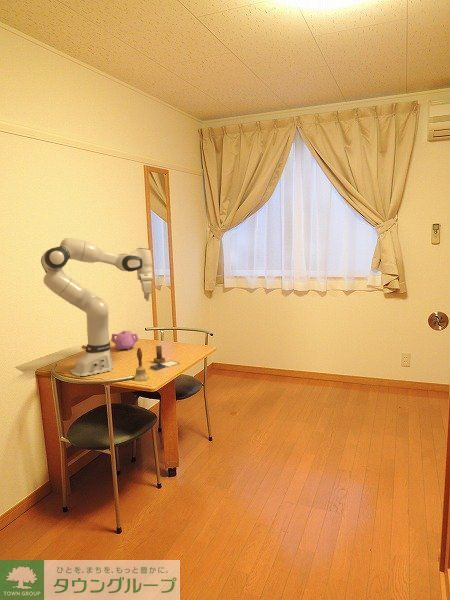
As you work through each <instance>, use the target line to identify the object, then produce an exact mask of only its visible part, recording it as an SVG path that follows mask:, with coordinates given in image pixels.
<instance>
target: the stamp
mask: <svg viewBox="0 0 450 600" xmlns="http://www.w3.org/2000/svg"><path fill="white" fill-rule="evenodd" d="M155 349H156V358H153V363H154V364H161V363H165V362H166V357H163V354H162V351H163V350H162V345H156V347H155Z"/></svg>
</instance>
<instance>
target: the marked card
mask: <svg viewBox="0 0 450 600" xmlns="http://www.w3.org/2000/svg"><path fill="white" fill-rule="evenodd" d="M160 364H162V365H165V366H166V368H171V367H174V366H177V365H180V364H181V363H180V362H178V361H174V360H169V361H165V362H163V363H160Z"/></svg>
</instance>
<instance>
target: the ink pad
mask: <svg viewBox="0 0 450 600" xmlns="http://www.w3.org/2000/svg"><path fill="white" fill-rule="evenodd" d="M165 368H167V367H166V366H165V365H162V364H161V363H160V364H157V363H155V364H153V365H150V366H149V369H151V370H153V371H159V370H162V369H165Z"/></svg>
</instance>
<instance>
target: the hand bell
mask: <svg viewBox="0 0 450 600" xmlns="http://www.w3.org/2000/svg"><path fill="white" fill-rule="evenodd" d="M136 357H137V361H138V367H137V368H136V369H135V370H136V371H135V375H134V376H133V377H134V380H133V381H134V382H144V381H147V380H149V379H150V375H148V373H147V371H146V368H145V366H143V362H142V361H143V352H142V349H141V347H138V348H137V350H136Z"/></svg>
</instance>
